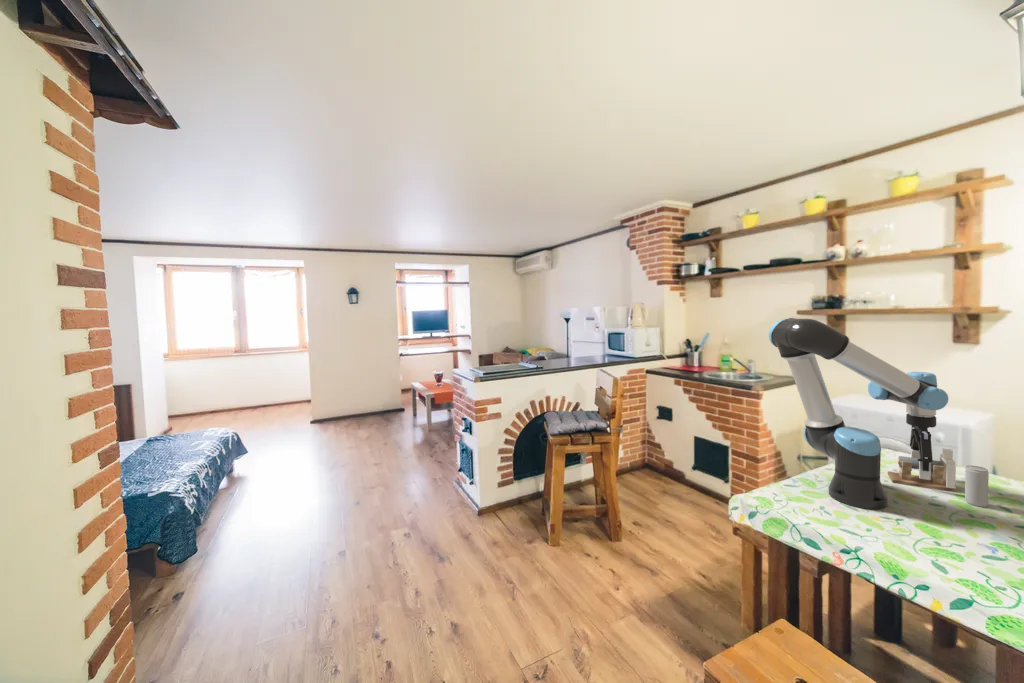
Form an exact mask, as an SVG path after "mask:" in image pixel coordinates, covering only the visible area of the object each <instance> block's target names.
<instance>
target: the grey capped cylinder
mask: <svg viewBox="0 0 1024 683" xmlns="http://www.w3.org/2000/svg"><path fill="white" fill-rule="evenodd" d="M918 459H920V458H912V457H911V456H902V455H898V458H897V464H898V468H899V467H902V461H906V462H911V463H912V470H919V461H918ZM933 465H937V466H943V467H944V470H945V465H944V464H943V461H940V460H934V459H933V462H931V471H933Z"/></svg>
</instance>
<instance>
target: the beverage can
mask: <svg viewBox="0 0 1024 683" xmlns="http://www.w3.org/2000/svg"><path fill="white" fill-rule="evenodd" d="M964 472H965V473H964V477H965V478H964V480H965V481H964V501H965V502H966V503H967V504H969V505H970V506H974V507H980V508H985V507H988V505H989V475H990V474H989V470H988V469H987V468H985V467H982V466H978V465H971V464H970V465H969V464H968V465H966V466H965V470H964Z"/></svg>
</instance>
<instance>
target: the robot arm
mask: <svg viewBox="0 0 1024 683" xmlns="http://www.w3.org/2000/svg"><path fill="white" fill-rule="evenodd" d="M768 338H769V341H770V343H771V344H772V345H773V346H774V347H775V348H777V349H778V352H779V355H780V357H781V358H782V359H784V360H786V361H787V363H788V365H789V369H790V372H791V374H792V376H793V380H794V382H795V386H796V389H797V392H798V393H799V397H800V401H801V402H802V405H803V408H804V412H805V414H806V416H807V417H806V419H805V421H804V425H805V426H804V427H805V428H804V429H803V431H802V432H803V433H802V434H803V437H804V440H805V442H806V443H807V445H809V446H810V447H811V448H812V449H813V450H815V451H817V452H819V453H821V454H823V455H825V456H827V457H829V458H831V459H833V460H834V474H833V476H832V479H831V481H830V483H829V485H828V495H829V496H830V497H831V498H832V499H834V500H836V501H838V502H840V503H842V504H845V505H848V506H851V507H852V506H853V507H856V508H861V509H862V508H863V509H871V510H880V509H884V508H886V507H888V497H887V494H886V492H885V489H884V486H883V484H882V483H881V482H882V481H881V456H882V454H881V452H882V447H881V440H880V438H879V437H878V436H877V435H876V434H875V433H873V432H870V431H868V430H866V429H860V428H857V427H850V426H846V424H845V422H844V419H843V417H842V416H841V415H838V414H836V412H835V409H834V406H833V404H832V400H831V397H830V394H829V392H828V389H827V385H826V383H825V380H824V377H823V375H822V372H821V370H820V369H821V368H820V366H819V363H818V361H817V358H816V355H817V356H819V357H821V358H823V359H825V360H828V361H829V360H833V361H835V362H837V363H839V364H840V365H842V366H843V367H846V368H847V369H849V370H851V371H852V372H854V373H856V374H857V375H860V376H861V377H863V378H865V379H867V380H868V381H869V383H868V384H867V385H868V386H867V390H868V391H867V392H868V394H869V396H871V397H872V398H873V399H874V400H882V401H885V400H886V401H888V400H889V401H893V402H897V403H901V404H905V412H906V413H907V414H906V416H905V418H906V420H905V421H906V422H905V423H906V424H907V425H909V426H911V431H910V441H909V446H910V449H911V450H910V457H912V458H920V459H918V461H919V469H918V476H919V478H920V479H926V480H931V462H933V460H934V459H933V449H932V434H931V432H930V431H929V430H928V429H929V428H935V427H936V426H937V417H936V415H937V411H939V410H942V409H944V408H945V407H946V406H947V405H948V403H949V394H948V393H947V392H946V391H945V390H944V389H942V388H938V380H937V376H936V374H934V373H932V372H926V371H925V372H924V371H909V372H907V373H906V372H904V371H902V370H900V369H899V368H897V367H895V366H894V365H892V364H890V363H888V362H887V361H885V360H883V359H881V358H880V357H878V356H876V355H874V354H872V353H871V352H868V351H867V350H866V349H863V348H862V347H860V346H858V345H856V344H854V343H852V342H851V340H850V338H849V336H847V335H845V334H843V332H840V331H838V330H836V329H834V328H833V327H832V326H829V325H827V324H825V323H824V322H822V321H819V320H818V319H817V320H816V319H812V318H794V317H789V318H783V319H780V320H778V321H776V322H775V323H773V324H772V325H771V327H770V329H769V331H768Z"/></svg>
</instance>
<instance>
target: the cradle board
mask: <svg viewBox="0 0 1024 683" xmlns="http://www.w3.org/2000/svg"><path fill="white" fill-rule="evenodd" d="M912 470H913V469H912V463H911V462H906V461H902V467H899V466H898V472H894V471H887V475H888V477H889V479H890V480H891V482H892V483H893V484H899V485H906V486H913V487H918V488H919V487H920V488H925V489H933V490H940V491H945V492H953V493H957V492H958V490H957V488H956V487H955V489H954V488H947V487H946V480H944V479H943V475H944V467H943V466H937V465H933V471H931V480H926V479H920V478H919V475H915V474H912Z"/></svg>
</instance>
